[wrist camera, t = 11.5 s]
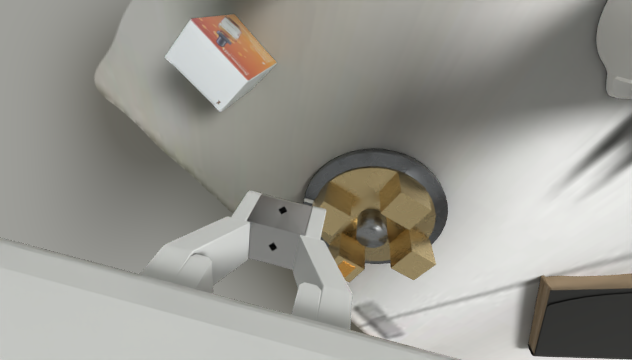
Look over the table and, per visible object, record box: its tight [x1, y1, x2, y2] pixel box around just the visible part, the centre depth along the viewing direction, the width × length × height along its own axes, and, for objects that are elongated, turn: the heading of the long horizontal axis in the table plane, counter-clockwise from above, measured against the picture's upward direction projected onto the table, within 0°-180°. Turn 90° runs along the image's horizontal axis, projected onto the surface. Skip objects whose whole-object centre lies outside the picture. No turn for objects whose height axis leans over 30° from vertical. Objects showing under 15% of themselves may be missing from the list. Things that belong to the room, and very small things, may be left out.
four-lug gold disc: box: [312, 166, 436, 282], centre depth 45 cm, size 20×20×6 cm
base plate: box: [304, 149, 448, 264], centre depth 48 cm, size 24×24×2 cm
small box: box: [165, 14, 277, 112], centre depth 34 cm, size 8×6×10 cm
